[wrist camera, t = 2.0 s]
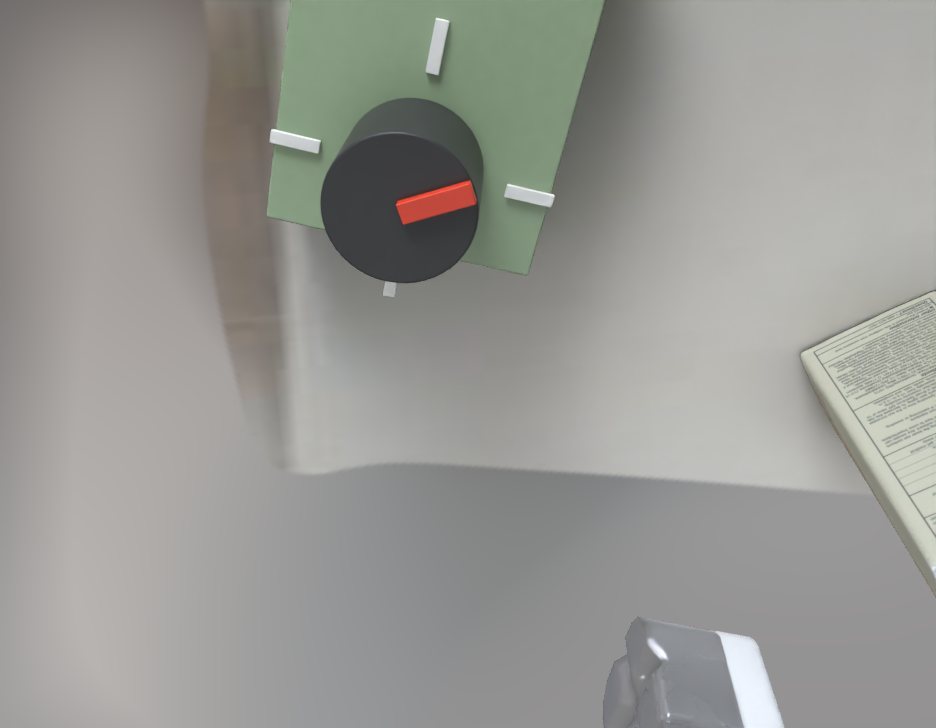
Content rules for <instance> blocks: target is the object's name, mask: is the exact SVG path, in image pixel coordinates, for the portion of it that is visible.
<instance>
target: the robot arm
mask: <svg viewBox="0 0 936 728" xmlns="http://www.w3.org/2000/svg"><path fill="white" fill-rule="evenodd" d="M625 640H626V647H627V655H625V656H623V657H622V658H620V659H618V660H616V661H615V662H614V664H613V667H612V669H611V672H610V674H609V677H608V680H607V684H606V690H605V695H604V700H603V725H604V728H785V726H784V723H783V720H782V717H781V714H780V711H779V708H778V705H777V702H776V699H775V696H774V693H773V690H772V687H771V684H770V680H769V678H768V675H767V671H766V668H765V665H764V662H763V659H762V656H761V653H760V650H759V647H758V644H757V643H756V642H755V641H754V640H753V638H751V637H746V636H741V635H735V634H730V633H724V632H718V631H710V630H706V629H700V628H695V627H691V626H685V625H680V624H675V623H670V622H664V621H659V620H654V619H648V618H644V617H637V618H636V619H635V620H634V621H633V622H632V624H631V626H630V628H629V630H628V632H627V635H626V637H625Z"/></svg>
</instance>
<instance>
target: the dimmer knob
mask: <svg viewBox="0 0 936 728" xmlns="http://www.w3.org/2000/svg"><path fill="white" fill-rule="evenodd" d="M483 172H484V166H483V158H482V153H481V149H480V147H479V144H478V141H477V139H476V138H475V136H474V134H473V132H472V131H471V129H470V128H469V127H468V125H467V124H466V123H465V122H464V121H463V120H462V119H461V118H460V117H459V116H458V115H457V114H455V113H454V112H453V111H451V110H450V109H448V108H447V107H445V106H443V105H441V104H438V103H436V102H433V101H430V100H426V99H420V98H400V99H395V100H391V101H388V102H385V103H383V104H380V105H378V106H377V107H375V108H373V109H372V110H370V111H369V112H368V113H366V114H365V115H364V116H363V117H362V118H361V119H360V120H359V121H358V123H357V124H356V125H355V127H354V128H353V130H352V131H351V133H350V135H349V136H348V138H347V139H346V141H345V143H344V144H343V146H342V148H341V149H340V151H339V153H338V154H337V156H336V158H335V159H334V161H333V162H332V164H331V166H330V168H329V170H328V171H327V173H326V176H325V179H324V181H323V185H322V190H321V198H320V207H321V216H322V221H323V224H324V227H325V230H326V233H327V235H328V237H329V239H330V241H331V242H332V244H333V245H334V247H335V248H336V250H337V251H338V252H339V253H340V254H341V256H342V257H343V258H344V259H345V260H347V261H348V262H349V263H350V264H351V265H352V266H354V267H355V268H357V269H358V270H360V271H361V272H363V273H365V274H367V275H369V276H371V277H374V278H376V279H380V280H383V281H388V282H394V283H414V282H420V281H425V280H428V279H431V278H434V277H436V276H438V275H440V274H442V273H444V272H445V271H447V270H448V269H450V268H451V267H453V266H454V265H455V264H456V263H457V262H458V261H459V260H460V259H461V258H462V257H463V256H464V254H465V253H466V251H467V250H468V248H469V247H470V245H471V243H472V241H473V239H474V236H475V233H476V230H477V226H478V220H479V212H480V203H481V193H482V184H483Z"/></svg>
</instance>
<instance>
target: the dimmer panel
mask: <svg viewBox="0 0 936 728" xmlns="http://www.w3.org/2000/svg"><path fill="white" fill-rule="evenodd" d="M605 1H606V0H290V9H289V18H288V27H287V36H286V45H285V54H284V63H283V72H282V81H281V90H280V99H279V108H278V117H277V126H276V130H275V129H272V130H271V134H270V143H274V153H273V162H272V171H271V180H270V189H269V198H268V207H267V217H269V218H274V219H278V220H283V221H287V222H292V223H296V224H300V225H305V226H309V227H314V228H318V229H323V230H325V227H324V224H323V221H322V216H321V207H320V198H321V190H322V185H323V181H324V179H325V176H326V173H327V171H328V170H329V168H330V166H331V164H332V162H333V161H334V159H335V158H336V156H337V154H338V153H339V151H340V149H341V148H342V146H343V144H344V143H345V141H346V139H347V138H348V136H349V135H350V133H351V131H352V130H353V128H354V127H355V125H356V124H357V123H358V121H359V120H360V119H361V118H362V117H363V116H364V115H365V114H366V113H368V112H369V111H370V110H372V109H373V108H375V107H377V106H378V105H380V104H383V103H385V102H388V101H391V100H395V99H400V98H420V99H426V100H430V101H433V102H436V103H438V104H441V105H443V106H445V107H447V108H448V109H450V110H451V111H453V112H454V113H455V114H457V115H458V116H459V117H460V118H461V119H462V120H463V121H464V122H465V123H466V124H467V125H468V127H469V128H470V129H471V131H472V132H473V134H474V136H475V138H476V139H477V141H478V144H479V147H480V149H481V153H482V158H483V166H484V172H483V184H482V193H481V203H480V212H479V220H478V226H477V230H476V233H475V236H474V239H473V241H472V243H471V245H470V247H469V248H468V250H467V251H466V253H465V254H464V256H463V257H462V258H461V259H460V261H464V262H468V263H473V264H477V265H482V266H486V267H490V268H495V269H499V270H504V271H508V272H513V273H517V274H521V275H528V273H529V270H530V266H531V263H532V259H533V256H534V252H535V248H536V245H537V241H538V238H539V234H540V231H541V227H542V224H543V220H544V217H545V213H546V210H547V207H550V208H551V207H552V204H553V201H554V197H555V196H554V195H553V194H551V192H552V188H553V185H554V181H555V178H556V174H557V171H558V167H559V164H560V160H561V156H562V153H563V149H564V146H565V142H566V139H567V135H568V132H569V128H570V125H571V121H572V118H573V114H574V110H575V107H576V103H577V100H578V96H579V93H580V89H581V86H582V82H583V79H584V75H585V72H586V68H587V65H588V61H589V57H590V54H591V50H592V47H593V43H594V40H595V36H596V33H597V29H598V26H599V22H600V19H601V15H602V11H603V8H604V4H605ZM396 286H397V283H394V282H388V281H385V285H384V290H383V295H384V296H389V297H394V296H395V291H396Z"/></svg>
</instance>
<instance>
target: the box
mask: <svg viewBox="0 0 936 728" xmlns="http://www.w3.org/2000/svg"><path fill="white" fill-rule="evenodd" d="M800 358H801V361H802V363H803V366H804V368H805V370H806V373H807V375H808V377H809V380H810V382H811V384H812V386H813V388H814V390H815V392H816V394H817V397H818V399H819V401H820V403H821V405H822V407H823V408H824V410H825V412H826V414H827V416H828V418H829V420H830V422H831V424H832V426H833V427H834V429H835V431H836V433H837V435H838V436H839V438H840V440H841V441H842V443H843V444H844V446H845V448H846V449H847V451H848V453H849V454H850V456H851V457H852V459H853V461H854V462H855V464H856V466H857V467H858V469H859V471H860V472H861V474H862V476H863V477H864V479H865V481H866V482H867V484H868V485H869V487H870V489H871V490H872V492H873V494H874V495H875V497H876V499H877V500H878V502H879V504H880V505H881V507H882V508H883V510H884V512H885V513H886V515H887V517H888V518H889V520H890V522H891V523H892V525H893V527H894V528H895V530H896V532H897V533H898V535H899V537H900V538H901V540H902V542H903V543H904V545H905V547H906V548H907V550H908V552H909V554H910V555H911V557H912V558H913V560H914V562H915V564H916V565H917V567H918V568H919V570H920V572H921V573H922V575H923V577H924V578H925V580H926V582H927V583H928V585H929V586H930V588H931V590H932V592H933V593H934V595H935V597H936V291H933V292H931V293H928V294H926V295H924V296H921V297H919V298H916V299H914V300H912V301H909V302H907V303H905V304H902V305H900V306H898V307H896V308H893V309H891V310H889V311H887V312H885V313H882V314H880V315H878V316H877V317H875V318H873V319H871V320H868V321H866V322H864V323H862V324H860V325H858V326H856V327H853V328H851V329H849V330H847V331H845V332H842V333H840V334H838V335H836V336H834V337H832V338H830V339H828V340H826V341H825V342H823V343H821V344H819V345H817V346H814V347H812V348H810V349H808V350H806V351H804V352H802V353H801V355H800Z"/></svg>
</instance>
